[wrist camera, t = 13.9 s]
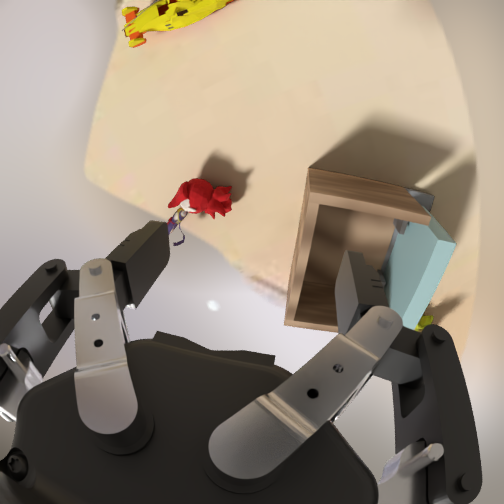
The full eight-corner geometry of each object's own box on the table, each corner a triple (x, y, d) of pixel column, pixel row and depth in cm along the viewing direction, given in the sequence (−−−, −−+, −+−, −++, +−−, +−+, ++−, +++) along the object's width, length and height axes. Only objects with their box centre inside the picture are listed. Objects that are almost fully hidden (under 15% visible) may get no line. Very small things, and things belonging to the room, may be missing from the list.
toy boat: (133, 21, 30) (96, 10, 22) (242, -21, 25) (225, -49, 17) (141, 52, 33) (102, 46, 25) (253, 12, 28) (238, -12, 20)
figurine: (149, 217, 47) (203, 154, 40) (187, 243, 51) (244, 188, 44) (138, 239, 42) (195, 171, 35) (180, 267, 46) (243, 209, 39)
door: (407, 202, 38) (438, 239, 28) (429, 207, 38) (463, 245, 27) (378, 286, 46) (392, 335, 36) (398, 289, 46) (415, 337, 36)
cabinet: (308, 167, 39) (310, 191, 30) (433, 195, 37) (465, 225, 28) (288, 280, 50) (283, 325, 40) (395, 295, 48) (410, 339, 38)
